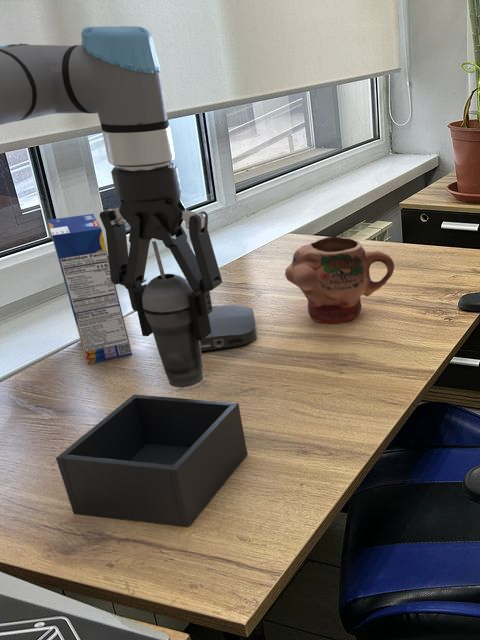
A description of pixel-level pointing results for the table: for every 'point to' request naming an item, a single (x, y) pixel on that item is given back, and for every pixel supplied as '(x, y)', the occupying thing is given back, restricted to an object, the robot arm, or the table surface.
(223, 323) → the media streaming box
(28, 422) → the table surface
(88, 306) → the beverage box
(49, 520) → the table surface
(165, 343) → the beverage cup
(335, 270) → the pink ceramic mug
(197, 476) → the desk bin
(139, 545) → the table surface
